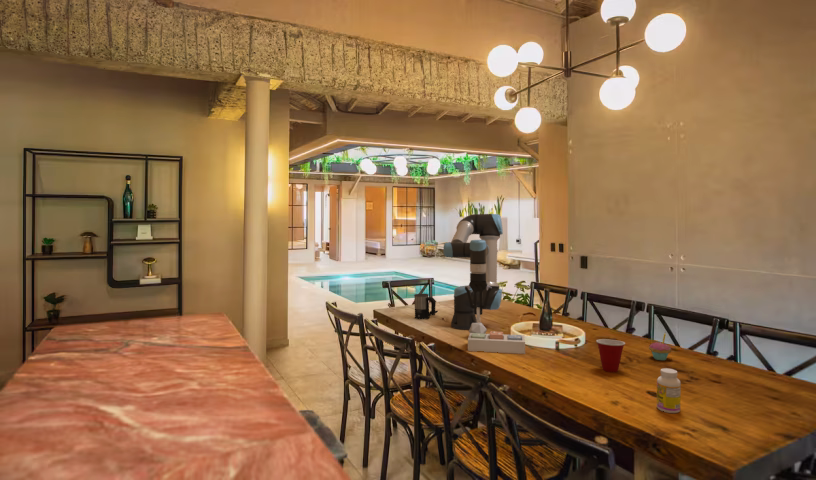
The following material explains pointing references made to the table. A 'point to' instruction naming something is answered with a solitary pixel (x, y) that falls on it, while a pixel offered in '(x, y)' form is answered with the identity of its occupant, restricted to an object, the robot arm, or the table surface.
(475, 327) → the die
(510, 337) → the slate tile
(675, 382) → the supplement bottle
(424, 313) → the milk frother
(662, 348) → the cupcake
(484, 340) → the keypad housing
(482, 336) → the sage tile
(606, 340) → the plastic cup
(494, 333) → the terracotta tile
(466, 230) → the robot arm
